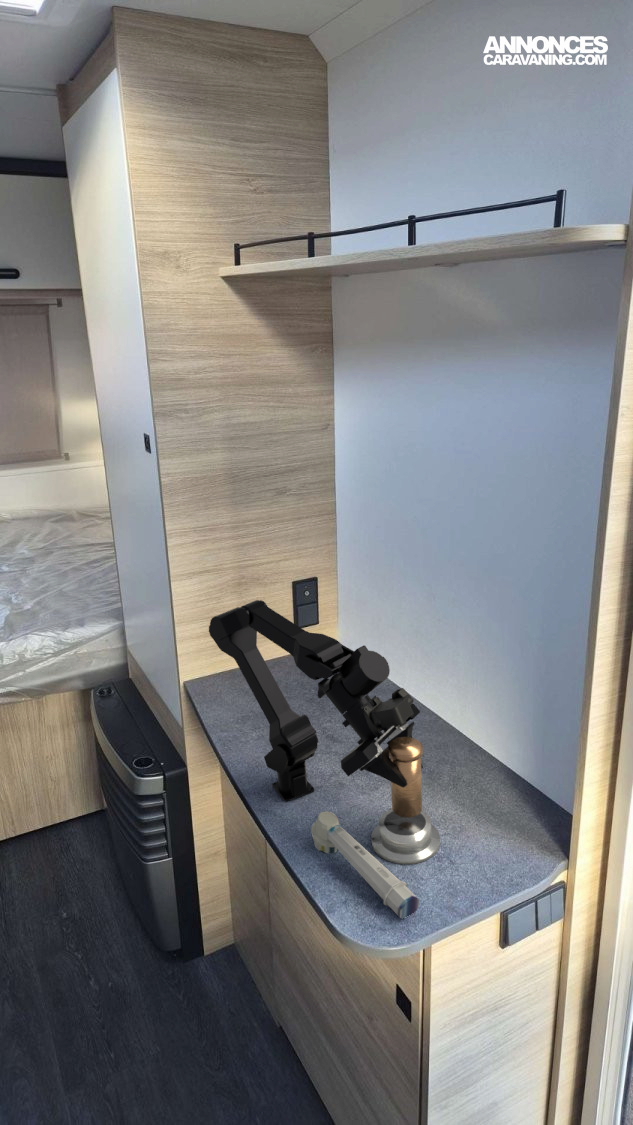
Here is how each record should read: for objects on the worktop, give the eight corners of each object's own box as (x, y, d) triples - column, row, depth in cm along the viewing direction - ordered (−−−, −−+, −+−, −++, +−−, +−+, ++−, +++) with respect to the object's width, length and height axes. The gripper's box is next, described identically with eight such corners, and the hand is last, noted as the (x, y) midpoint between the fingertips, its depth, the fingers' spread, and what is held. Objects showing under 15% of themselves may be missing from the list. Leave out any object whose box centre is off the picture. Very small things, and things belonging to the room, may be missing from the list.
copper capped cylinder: (383, 804, 138) (381, 742, 134) (411, 793, 140) (409, 732, 136) (402, 822, 133) (400, 758, 129) (430, 811, 135) (429, 747, 131)
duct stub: (358, 834, 141) (357, 815, 140) (415, 812, 146) (414, 793, 145) (395, 873, 131) (394, 853, 129) (454, 848, 136) (453, 828, 134)
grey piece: (397, 906, 119) (305, 809, 137) (395, 937, 121) (305, 838, 140) (423, 890, 121) (330, 797, 140) (420, 922, 124) (329, 826, 143)
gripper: (353, 706, 124) (417, 787, 121) (409, 660, 138) (467, 731, 136) (314, 737, 131) (374, 814, 128) (372, 690, 145) (427, 758, 143)
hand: (413, 777), depth 134 cm, fingers closed on copper capped cylinder, 5 cm apart
